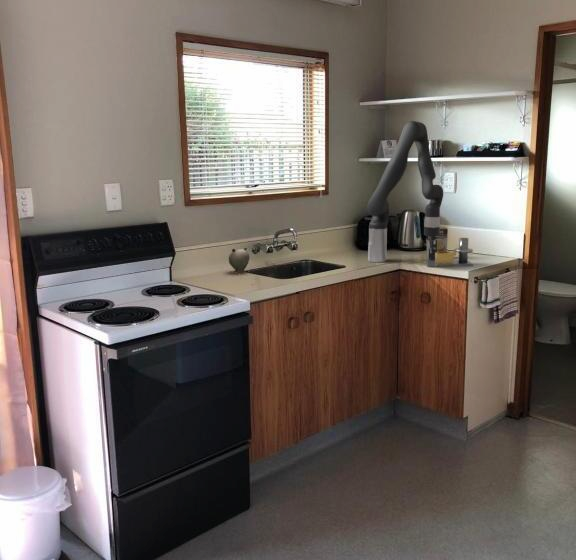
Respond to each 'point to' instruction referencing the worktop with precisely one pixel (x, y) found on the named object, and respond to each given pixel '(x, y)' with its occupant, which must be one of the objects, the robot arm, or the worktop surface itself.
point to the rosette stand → (447, 257)
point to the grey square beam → (429, 262)
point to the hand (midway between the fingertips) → (431, 259)
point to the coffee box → (442, 240)
